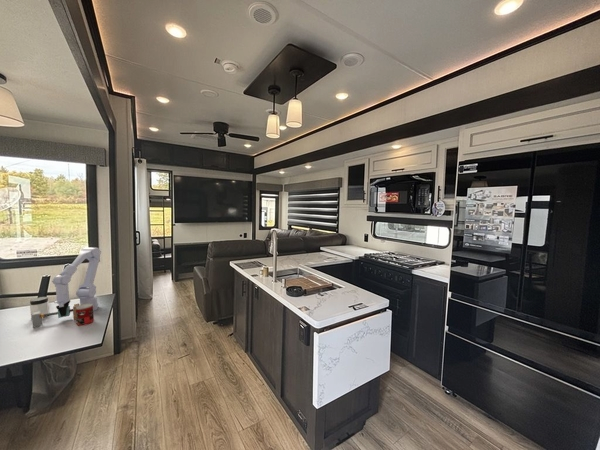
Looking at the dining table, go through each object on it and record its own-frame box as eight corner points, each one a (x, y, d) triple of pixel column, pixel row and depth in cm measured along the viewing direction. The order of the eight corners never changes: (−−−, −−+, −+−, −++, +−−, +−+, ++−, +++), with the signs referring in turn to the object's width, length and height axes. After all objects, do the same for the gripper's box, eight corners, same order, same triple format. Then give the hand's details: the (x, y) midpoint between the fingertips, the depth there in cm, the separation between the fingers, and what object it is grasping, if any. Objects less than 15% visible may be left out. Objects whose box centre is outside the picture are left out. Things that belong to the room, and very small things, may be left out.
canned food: (74, 324, 151) (73, 307, 151) (90, 318, 159) (89, 302, 158) (80, 327, 148) (79, 309, 147) (96, 321, 155) (95, 304, 154)
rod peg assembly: (80, 314, 164) (79, 302, 164) (78, 319, 158) (77, 306, 157) (35, 323, 152) (34, 310, 151) (32, 328, 146) (31, 315, 145)
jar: (27, 319, 158) (25, 301, 157) (38, 314, 166) (37, 296, 165) (42, 318, 159) (41, 300, 158) (53, 313, 167) (52, 296, 166)
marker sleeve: (70, 313, 160) (69, 305, 160) (69, 315, 156) (68, 308, 156) (59, 315, 157) (59, 307, 157) (58, 318, 153) (57, 310, 153)
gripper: (56, 291, 159) (57, 311, 160) (51, 298, 147) (53, 320, 148) (70, 289, 163) (72, 309, 164) (67, 295, 152) (69, 317, 153)
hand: (64, 314), depth 157 cm, fingers closed on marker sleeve, 5 cm apart
